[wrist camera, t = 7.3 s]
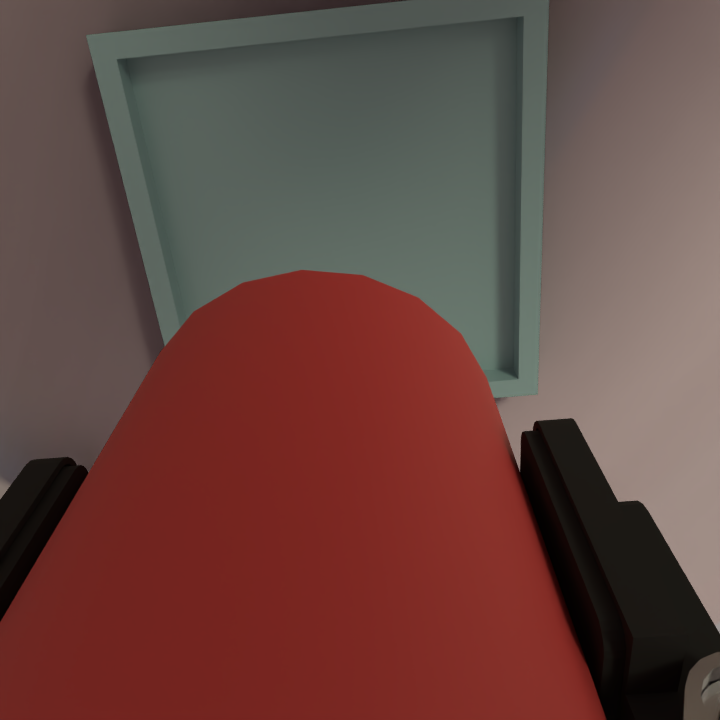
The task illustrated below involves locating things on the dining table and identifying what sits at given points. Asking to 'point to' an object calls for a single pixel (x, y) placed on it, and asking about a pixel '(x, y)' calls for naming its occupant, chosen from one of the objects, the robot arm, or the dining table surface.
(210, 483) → the beer can
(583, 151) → the dining table surface
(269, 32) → the slate tray
